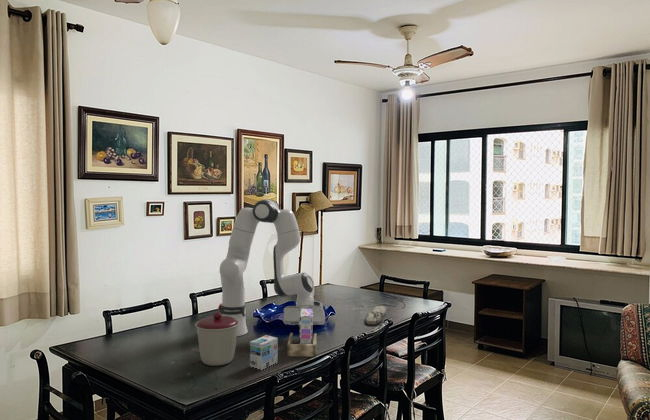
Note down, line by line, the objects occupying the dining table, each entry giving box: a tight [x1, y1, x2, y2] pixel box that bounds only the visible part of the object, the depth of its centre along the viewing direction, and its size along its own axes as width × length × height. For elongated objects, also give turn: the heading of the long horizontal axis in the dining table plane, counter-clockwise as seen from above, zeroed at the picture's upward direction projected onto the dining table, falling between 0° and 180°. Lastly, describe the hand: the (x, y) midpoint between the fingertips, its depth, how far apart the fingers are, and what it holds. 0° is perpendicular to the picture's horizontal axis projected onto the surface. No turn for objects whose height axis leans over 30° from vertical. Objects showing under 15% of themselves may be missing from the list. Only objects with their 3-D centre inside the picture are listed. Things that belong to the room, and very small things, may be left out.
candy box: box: [298, 309, 314, 344], centre depth 219 cm, size 14×6×16 cm, turn 0°
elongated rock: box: [365, 305, 387, 326], centre depth 271 cm, size 35×5×10 cm
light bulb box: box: [249, 334, 279, 371], centre depth 197 cm, size 11×7×11 cm, turn 148°
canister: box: [194, 311, 239, 367], centre depth 200 cm, size 18×18×21 cm
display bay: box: [286, 332, 318, 358], centre depth 216 cm, size 12×17×5 cm
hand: (303, 331), depth 226 cm, fingers closed, pressing on candy box
